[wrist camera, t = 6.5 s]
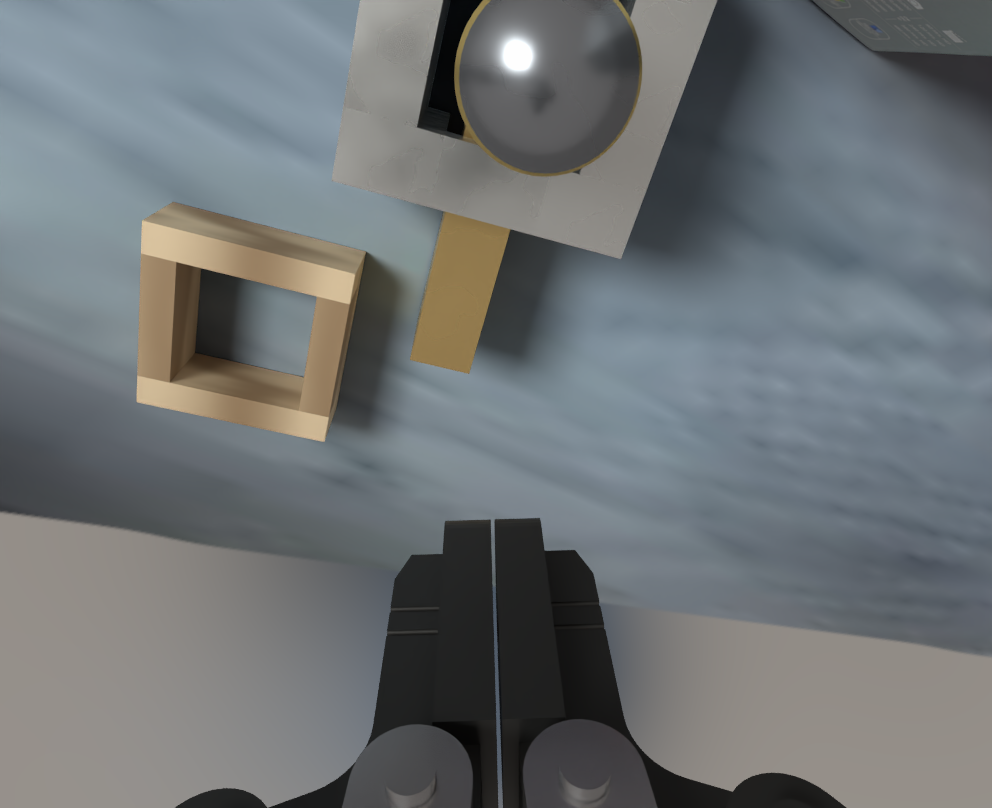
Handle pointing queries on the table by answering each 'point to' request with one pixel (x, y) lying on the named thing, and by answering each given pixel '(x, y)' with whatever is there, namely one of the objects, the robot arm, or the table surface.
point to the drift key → (458, 290)
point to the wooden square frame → (258, 257)
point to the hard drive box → (917, 24)
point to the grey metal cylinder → (547, 81)
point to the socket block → (471, 171)
